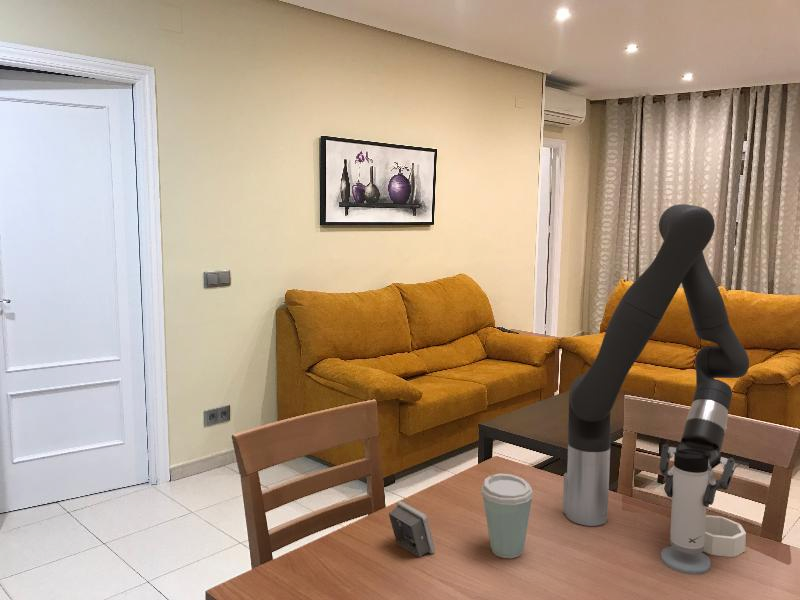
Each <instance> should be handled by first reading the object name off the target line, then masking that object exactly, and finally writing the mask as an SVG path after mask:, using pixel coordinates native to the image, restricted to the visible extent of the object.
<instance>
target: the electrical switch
mask: <svg viewBox="0 0 800 600" xmlns="http://www.w3.org/2000/svg"><path fill="white" fill-rule="evenodd" d="M395 505H396V507H394V508H393V509H392V510H391V511H390V512H388V517H389V520H390V524H391V528H392V530H393V536H394V538H395V542H396V544H398V545H399V546H401V547H402V546H403V547H402V548H404V549H405V550H406V551H408V552H409V553H411V554H413V555H414V556H416V557H417V558H421V557H422V556H424V555H425V554H427V553H429V554H431V555H433V554H434V553H435V551H436V547H435V544H434V543H435V542H434V539H433V536H432V531H431V528H430V524H429V519H428V517H427V515H426V514H425V513H424V512H422V511H419V510H418V509H416V508H414V507H412V506H411V505H409V504H407V503H405V502H404V501H402V500H398V501H397V502H396V503H395Z"/></svg>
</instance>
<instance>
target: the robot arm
mask: <svg viewBox="0 0 800 600" xmlns="http://www.w3.org/2000/svg"><path fill="white" fill-rule="evenodd" d="M715 225H716V223H715V218H714V215H712V213H711V212H710V211H709V210H708V209H706V208H705V207H702V206H699V205H692V204H683V203H680V204H675V205H671V206H670V207H668V208H667V209H666V210H664V211H663V213H662V214H661V216H660V217H659V222H658V231H659V233H660V237H661V238H662V240H663V242H662V244H661V246H660V249H659V250H658V252H657V254H656V256H655V258H654V259H653V260H652V262H651V264H650V265H649V266H648V267H647V268H646V269H645V270H644V272H643V273H642V274H640V276H638V277H637V279H635V281H634V282H633V283H631V285H630V286H629V287H628V288H627V289H626V291H625V292H624V294H623V295H622V297H621V299H620V300H619V303H618V305H617V306H616V308H615V310H614V311H613V313H612V316H611V318H610V320H609V322H608V324H607V327H606V330H605V331H604V332H605V334H604V336H603V339H602V342H601V346H600V348H599V351H598V353H597V356H596V358H595V359H594V361H593V363H592V364H591V366H590V368H588V370H587V371H586V373H583V374H581V375H579V376H577V377H576V378H575V379H574V380H573V381H572V383H571V385H570V387H569V393H568V395H569V396H568V421H567V422H568V424H567V425H568V428H567V429H568V430H567V431H568V432H567V433H568V435H567V436H568V438H567V439H568V441H567V465H566V466H567V468H566V469H567V470H566V472H565V473H564V474H563V484H562V485H563V489H562V490H563V491H562V513H563V514H565V516H566V517H567V520H569V521H571V522H572V523H575V524H578V525H583V526H587V527H596V526H602V525H604V524H606V523H607V522H608V509H609V508H608V507H609V492H610V491H609V490H610V489H609V487H610V486H609V485H610V462H611V459H610V458H611V440H612V437H611V435H612V434H611V411H612V410H613V407H614V405H615V403H616V400H617V398H618V396H619V393H620V390H621V388H622V386H623V384H624V381H625V379H626V378H627V376H628V374H629V372H630V370H631V369H632V367H633V365H634V364H635V362H636V361H637V360H638V358H639V356H640V355H641V353H642V352H643V351H644V349H645V348H646V346H647V344H648V343H649V341H650V340H651V337H652V336H653V335H654V333H655V331H656V329H657V328H658V326H659V324H660V322H661V321H662V319H663V317H664V315H665V314H666V311H667V309H668V308H669V306H670V304H671V303H672V301H673V298H675V295H676V294H677V292H678V290H679V288H680V286H681V285H682V286H681V287H682V289H683V292H684V295H685V300H686V302H687V303H686V304H687V305H688V309H689V310H688V311H689V315H690V318H691V321H692V326H693V328H694V331H695V334H696V336H697V338H698V339H700V340H702V341H707V342H711V343H715V344H716V346H715V345H713V346H712V345H710V346H708V345H707V346H704V347H701V348H700V349H699V350H698V351H697V352H696V354H695V358H694V365H695V376H696V377H695V380H696V381H695V383H696V385H695V386H696V387H695V393H694V396H693V399H692V403H691V406H690V408H689V410H688V413H687V417H686V421H685V425H684V429H683V432H682V436H681V440H680V443H679V444H678V446H677V447H674V446H669V444H667V443H665V444H662V446H661V452H660V458H659V459H660V462H659V465H658V466H659V467H658V468H659V471H660V474H661V476H665V477H666V480H665V483H664V487H663V488H664V493H665V494H666V496H667V498H670V499H672V489H673V468H674V465H673V466H672V467H670V468H669V466H670V459H672V458H674V454H675V453H676V452H678V450H682V449H698V450H703V451H706V452H708V453H711V458H710V459H708V485H707V488H706V492H705V496H704V500H703V504H704V506H706V508H709V506H711V505H713V504H714V501H715V497H716V493H717V491H718V490H724V491H726V490H728V488H729V487H730V484H731V481H732V478H733V475H734V473H735V469H736V468H737V464H736V461H735V459H734V458H733V457H729V458H727V457H724V456H721V451H722V447H723V442H724V439H725V435H726V432H727V426H728V418H729V416H728V415H729V411H730V407H731V402H732V399H733V397H732V396H733V390H732V387H731V386H730V385H729V384H728V383H726V382H725V381H722V380H721V379H740V378H742V377H744V376H745V375H746V374H747V373H748V371H749V368H750V359H749V355H748V353H747V350H746V348H745V347H744V346H743V345H742V343H741V341H740V340H739V338H738V336H737V335H736V333H735V331H734V329H733V327H732V326H731V324H730V319H729V316H728V311H727V308H726V306H725V305H726V304H725V301H724V298H723V296H722V294H721V292H720V289H719V288H718V285H717V283H716V281H715V279H714V277H713V275H712V273H711V271H710V269H709V267H708V264H707V261H706V258H705V255H704V250H705V249H706V247H707V246H708V245H709V244H710V241H711V239H712V237H713V235H714V232H715V227H716V226H715ZM719 379H720V380H719ZM719 465H721V466H722V469H723V471H722V474H721V477H720V479H715V476H714V472H713V469H715V468H716V467H718V466H719Z"/></svg>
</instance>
